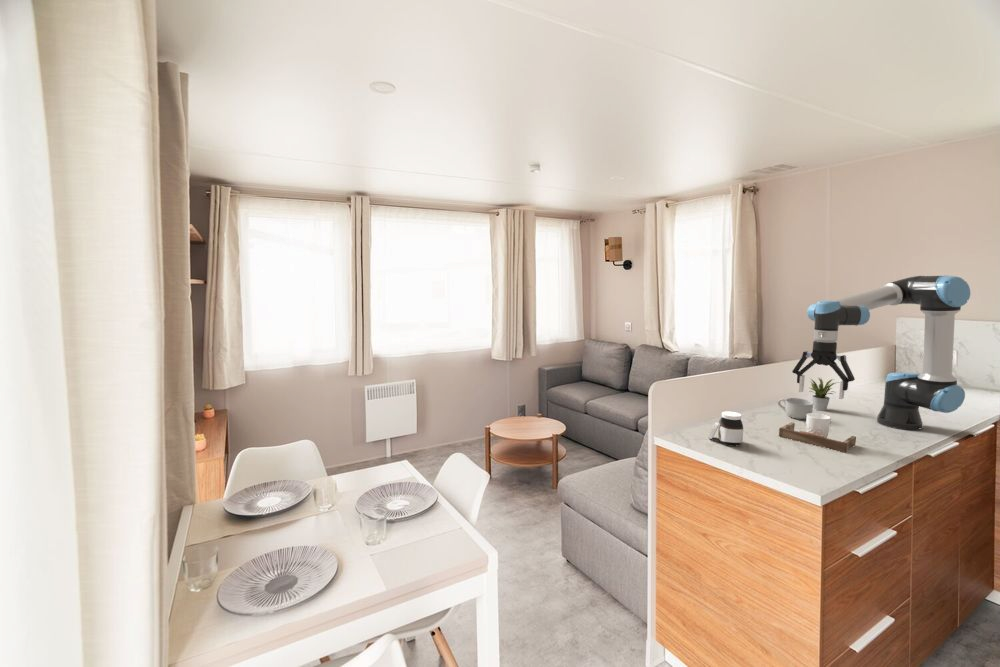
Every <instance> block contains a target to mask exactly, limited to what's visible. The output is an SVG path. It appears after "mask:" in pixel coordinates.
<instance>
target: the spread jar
mask: <svg viewBox="0 0 1000 667" xmlns="http://www.w3.org/2000/svg"><path fill="white" fill-rule="evenodd" d="M718 420H719V422H714V424H713V425H712V428H711V430H710V432H709V434H708V437H707V438H709V439H710V440H712V439H713V438H714V436H715V434H716V432H717V429H718V440H719V442H720V444H722V445H724V444H726V445H725V446H728V445H732V446H731V447H737V446H736V445H738V446H740V445H742V444H743V440H744V424H743V422H742V414H741V413H739V412H736V411H730V410H729V411H722V412H721V417H720V418H719V419H718Z"/></svg>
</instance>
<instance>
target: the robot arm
mask: <svg viewBox="0 0 1000 667" xmlns="http://www.w3.org/2000/svg"><path fill="white" fill-rule="evenodd" d="M970 297H971V289H970V286H969V284H968V282H967V281H966V280H965V279H964V278H962V277H959V276H956V275H955V276H954V275H914V276H910V277H906V278H901V279H898V280H893V281H890V282H888V283H885V284H883V285H882V287H879V288H876V289H871V290H868V291H864V292H860V293H857V294H854V295H849V296H848V297H847V296H846V297H843V298H840V299H836V300H819V301H817V303H812V304H811V305H809V307H808V308H807V309H806V310H807V312H806V314H807V318H808V319H810V320H811V321H813V322H814V330H813V340H814V341H812V352H809V351H808V350H806V351H803V352H802V355H801V358H800V359H799V360H798V362H797V363H796V365H795V366H794V368H793V369H792V371H791V372H792V373H793V374H795V375H797V378H796V383H797V384H798V392H799V393H802V392H804V389H805V379H806V378H805V376H806V375H805V373H806V372H807V371H809V369H811V368H812V367H813V366H815V364H817V365H821V366H822V365H823V366H826V367H827V366H829V367H830V368H832V370H833V371H834V372H835V374H836V375H837V376H838V377H839V379H841V381H840V383H839V396H838V397H839V398H838V399H840V400H842V399H844V398H845V391H848V389H849V383H850V382H854V381H855V379H856V378H855V377H854V374H853V372H852V370H851V368H850V366H849V364H848V362H847V361H848V360H847V355H846V354H843V355H837V348H838V347H837V345H838V343H837V341H838V334H839V326H862V325H865V324H866V323H869V320H870V318H871V312H870V310H874V309H878V308H882V307H885V306H888V305H889V306H898V305H903V304H905V305H909V304H910V305H919V306H920V307H919V308H920V309H919V311H920V312H921V313H923V314H924V330H923V331H924V332H923V334H924V335H923V336H924V338H923V360H922V373H919V372H890V373H888V374H887V375H886V379H885V385H884V399H883V406H882V407H881V409H880V411H879V412H878V415H877V418H876V421H877V422H876V423H878V424H880V425H882V424H883V426H885V425H886V426H885V427H889V426H890V428H893V427H895V428H894V429H899V428H901V430H906V429H919V428H922V429H923V424H924V423H923V420H922V417H921V413H920V410H919V409H920V408H923V409H927V410H930V411H933V412H939V413H944V414H948V413H952V412H954V411H957V410H958V409H959V408H960V407H961V406H962V405H963V403H964V401H965V398H966V392H965V390H964V389H963V387H962V386H960V385H958V379H957V376H954V374H953V360H954V359H953V358H954V340H955V337H954V335H955V319H956V318H955V317H956V314H957V313H959V312H960V311H961V308H962V307H963V306H965V305H966V304H967V303H968V301H969V299H970ZM810 356H811V359H812V360H811V361H809V363H807V365H805V366H804V367H802V366H803V365H804V363H805V362H806V361H807V359H808V358H809V357H810ZM836 360H838V362H839V363H840V365H841V367H842V368H843V370H842V369H841V368H840V366H838V364H837V362H836ZM801 368H802V369H801ZM843 371H844V372H843Z"/></svg>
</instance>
